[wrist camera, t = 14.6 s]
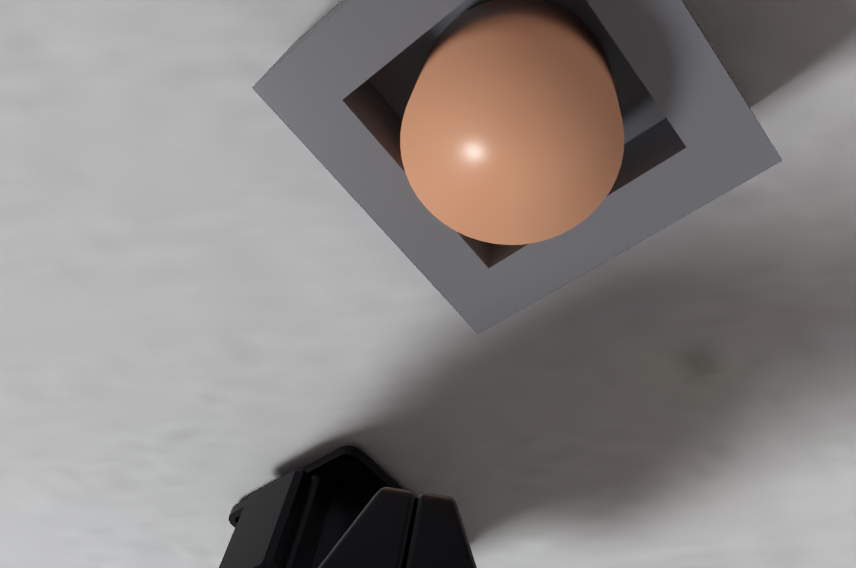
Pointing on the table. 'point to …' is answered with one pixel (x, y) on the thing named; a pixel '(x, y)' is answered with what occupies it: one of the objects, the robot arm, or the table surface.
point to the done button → (513, 124)
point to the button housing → (640, 110)
